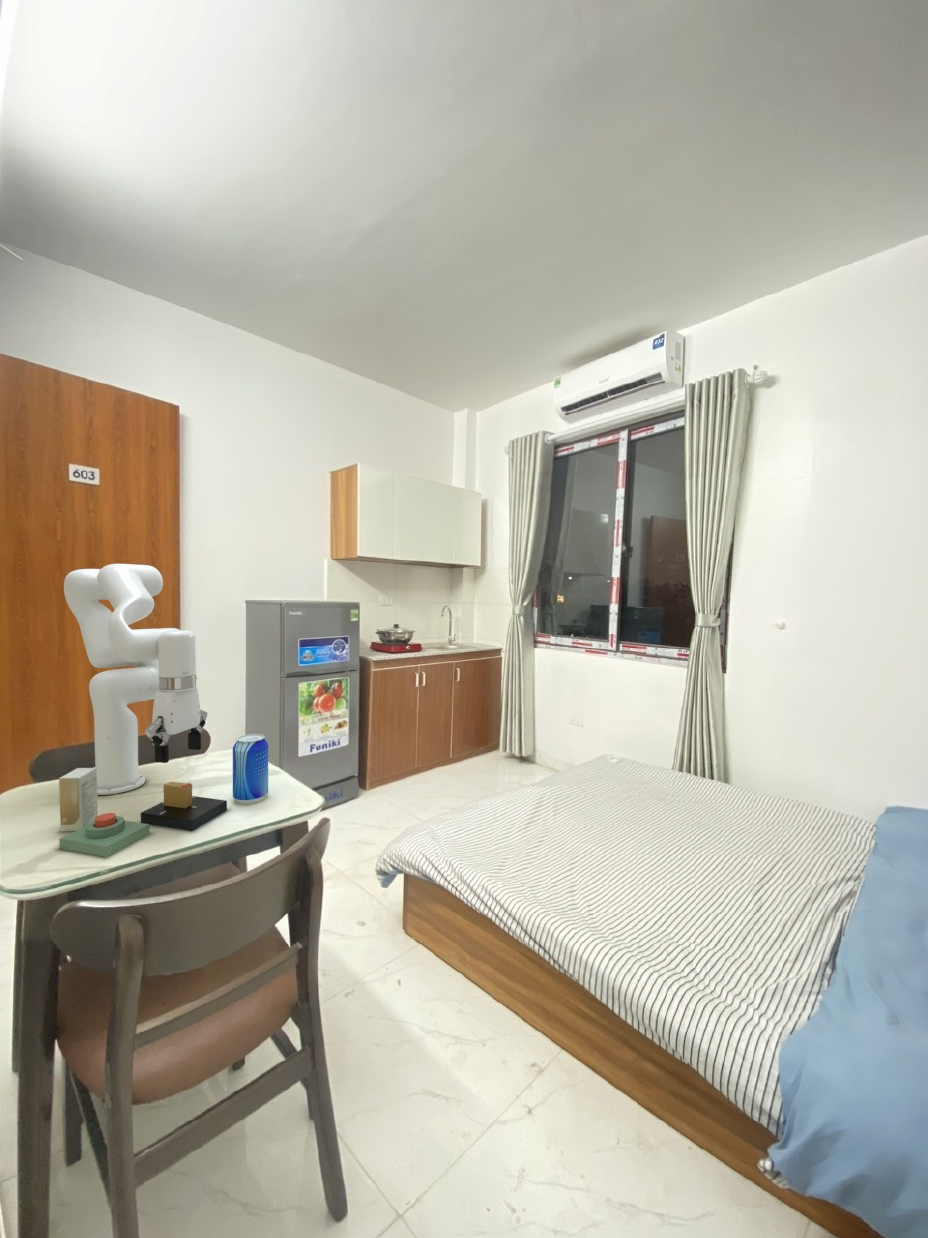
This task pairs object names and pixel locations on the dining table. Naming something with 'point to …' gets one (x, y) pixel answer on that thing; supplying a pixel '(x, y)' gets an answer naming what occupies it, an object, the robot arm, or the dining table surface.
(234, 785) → the beer can
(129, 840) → the button block
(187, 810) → the base
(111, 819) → the button
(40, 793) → the dining table surface
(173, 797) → the tap handle
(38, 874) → the dining table surface
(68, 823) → the cosmetic box
